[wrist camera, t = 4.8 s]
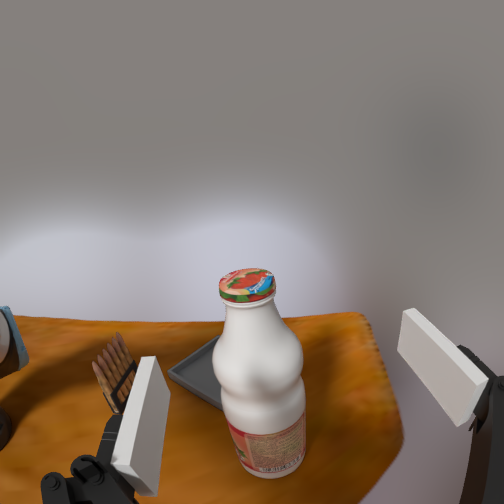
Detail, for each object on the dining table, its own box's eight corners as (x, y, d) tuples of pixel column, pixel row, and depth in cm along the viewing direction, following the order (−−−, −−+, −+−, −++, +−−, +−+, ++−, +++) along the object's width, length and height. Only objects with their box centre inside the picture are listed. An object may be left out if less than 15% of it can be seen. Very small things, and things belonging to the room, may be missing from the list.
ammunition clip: (135, 377, 54) (115, 329, 50) (142, 378, 53) (123, 329, 49) (113, 413, 44) (85, 363, 40) (121, 415, 43) (94, 365, 39)
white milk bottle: (288, 489, 29) (272, 314, 20) (226, 466, 33) (169, 295, 24) (315, 439, 36) (315, 262, 27) (258, 423, 41) (230, 255, 32)
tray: (169, 378, 53) (166, 370, 52) (219, 342, 63) (218, 334, 63) (223, 411, 44) (221, 404, 43) (274, 364, 55) (273, 356, 54)
